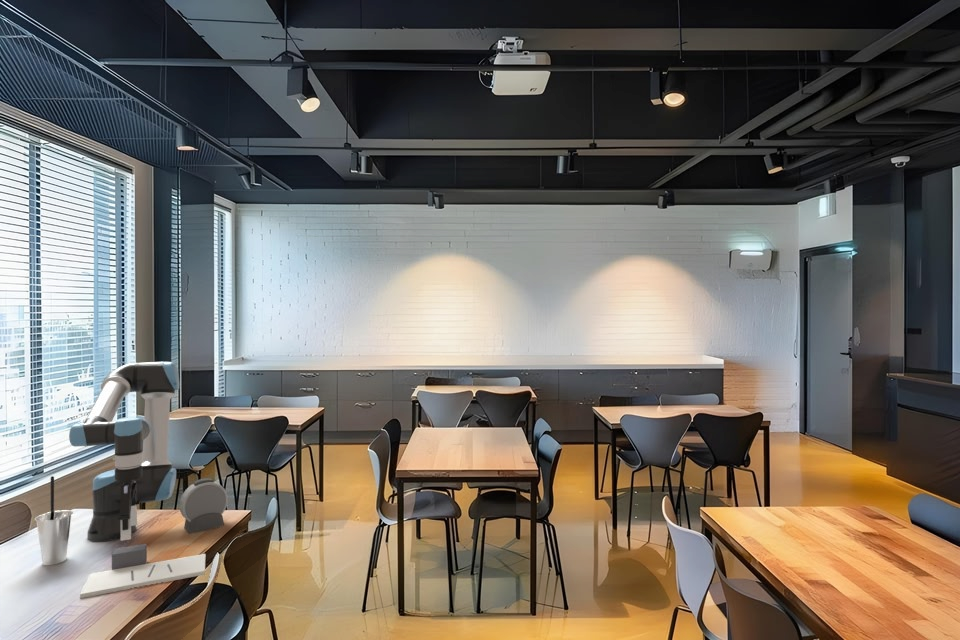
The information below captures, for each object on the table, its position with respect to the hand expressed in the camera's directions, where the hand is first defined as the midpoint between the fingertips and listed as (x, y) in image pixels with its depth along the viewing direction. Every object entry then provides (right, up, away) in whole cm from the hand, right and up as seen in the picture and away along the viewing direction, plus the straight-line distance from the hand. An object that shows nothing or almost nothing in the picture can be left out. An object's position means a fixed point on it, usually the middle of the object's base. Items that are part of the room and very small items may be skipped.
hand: (129, 532), depth 175 cm
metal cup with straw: (-28, -12, +5) cm, 30 cm away
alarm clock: (+7, -12, +35) cm, 37 cm away
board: (+10, -11, -6) cm, 16 cm away
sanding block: (0, -12, 0) cm, 12 cm away
